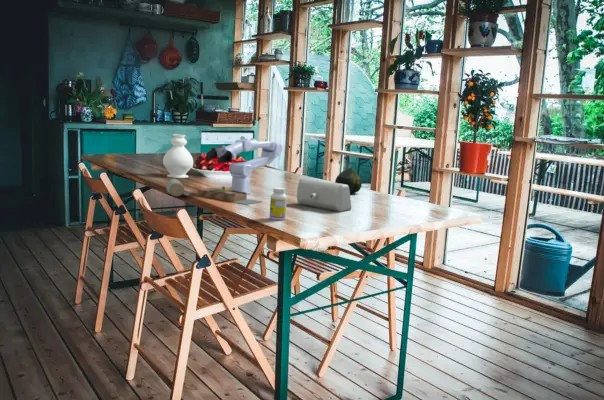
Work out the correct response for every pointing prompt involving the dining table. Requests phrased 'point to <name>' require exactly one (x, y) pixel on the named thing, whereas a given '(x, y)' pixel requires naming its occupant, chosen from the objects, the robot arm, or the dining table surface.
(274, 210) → the supplement bottle
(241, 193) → the body
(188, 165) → the decorative vase
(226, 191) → the lever cap
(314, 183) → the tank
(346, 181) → the squash
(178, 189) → the ceramic mug
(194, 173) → the dining table surface
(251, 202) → the mat
